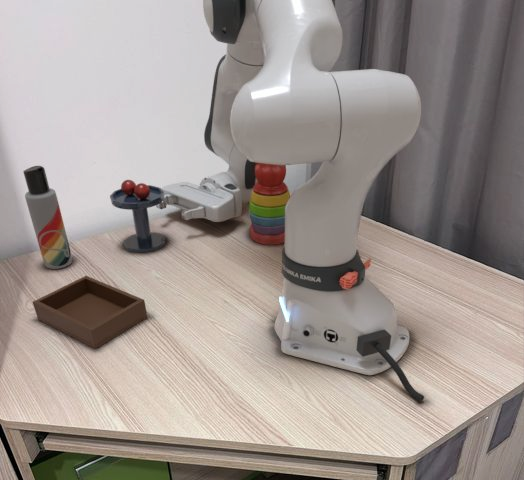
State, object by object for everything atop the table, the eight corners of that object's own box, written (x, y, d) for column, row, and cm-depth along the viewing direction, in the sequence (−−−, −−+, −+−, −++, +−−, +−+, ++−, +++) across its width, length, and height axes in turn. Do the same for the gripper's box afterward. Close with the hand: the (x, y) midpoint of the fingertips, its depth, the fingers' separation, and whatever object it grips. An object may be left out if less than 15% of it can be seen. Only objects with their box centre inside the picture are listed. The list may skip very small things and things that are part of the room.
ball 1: (141, 193, 115) (137, 177, 113) (130, 197, 113) (125, 181, 111) (131, 193, 117) (127, 178, 115) (120, 197, 114) (116, 182, 113)
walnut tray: (147, 317, 95) (144, 299, 93) (95, 348, 88) (91, 330, 85) (90, 292, 103) (86, 275, 101) (37, 319, 95) (32, 301, 93)
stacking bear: (298, 228, 125) (300, 150, 114) (289, 247, 117) (290, 164, 106) (253, 225, 127) (251, 147, 116) (242, 243, 119) (238, 161, 109)
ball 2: (154, 196, 113) (150, 181, 111) (143, 201, 111) (139, 185, 109) (144, 196, 115) (140, 181, 113) (133, 201, 112) (129, 185, 111)
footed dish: (180, 240, 121) (174, 191, 114) (144, 259, 114) (135, 207, 107) (145, 229, 126) (138, 181, 119) (109, 246, 119) (99, 196, 112)
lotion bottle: (64, 270, 110) (38, 172, 98) (39, 268, 111) (10, 171, 99) (77, 258, 114) (54, 163, 103) (53, 256, 115) (27, 161, 104)
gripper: (187, 172, 133) (141, 186, 125) (245, 190, 121) (198, 208, 113) (190, 196, 137) (145, 212, 129) (246, 217, 125) (200, 235, 117)
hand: (170, 210), depth 121 cm, fingers open, 8 cm apart
